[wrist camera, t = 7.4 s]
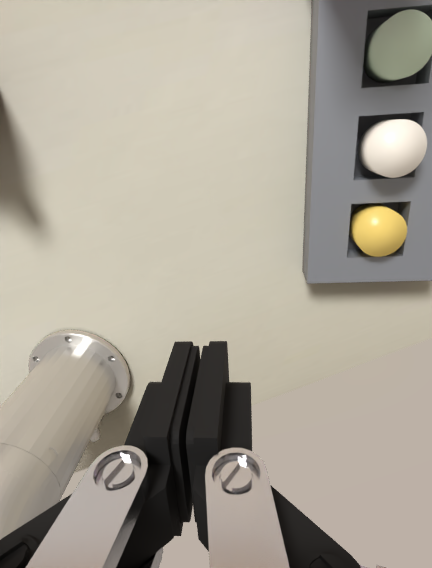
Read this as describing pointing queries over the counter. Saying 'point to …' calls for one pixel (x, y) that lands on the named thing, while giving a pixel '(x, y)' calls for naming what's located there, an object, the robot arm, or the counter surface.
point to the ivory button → (392, 147)
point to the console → (344, 148)
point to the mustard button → (377, 229)
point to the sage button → (398, 46)
